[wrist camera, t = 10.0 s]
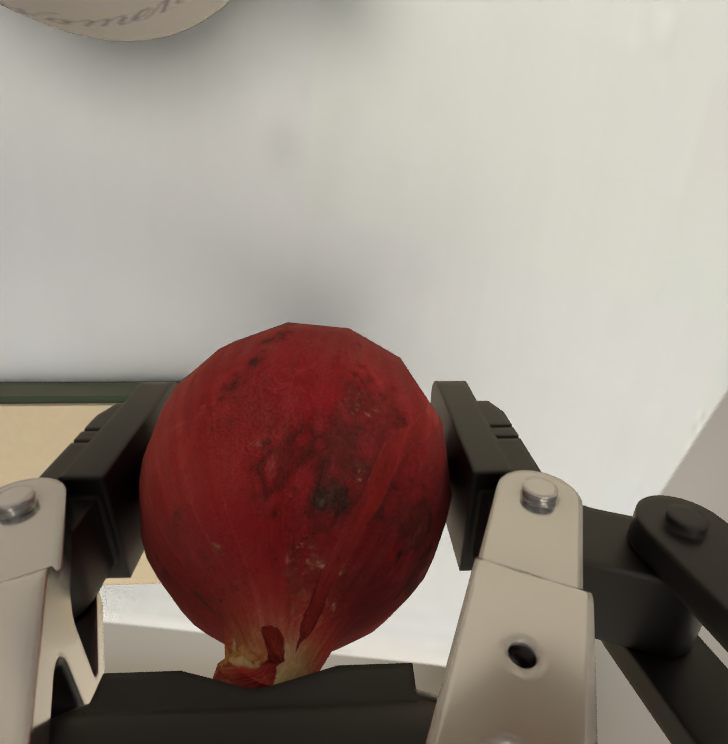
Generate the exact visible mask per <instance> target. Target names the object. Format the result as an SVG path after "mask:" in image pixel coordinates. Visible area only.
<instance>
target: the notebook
mask: <svg viewBox="0 0 728 744" xmlns="http://www.w3.org/2000/svg"><path fill="white" fill-rule="evenodd" d="M140 383H144V382H33V383H0V487H2V486H5V485H7V484H10V483H13V482H17V481H20V480H25V479H30V478H39V477H40V476H41V475H42V473H43V472H44V471H45V470H46V469H47V468H48V467H49V466H50V465H51V464H52V463H53V462H54V461H55V460H56V458H57V457H58V456H59V455H60V454H61V453H62V452H63V451H64V450H65V449H66V448H67V447H68V446H69V445H70V443H74V439H75V438H76V437H77V436H78V435H79V434H80V433H81V432H82V431H84V428H85V427H86V426H87V425H88V424H89V423H90V422H91V421H92V420H93V419H94V418H95V417H96V416H97V415H98V414H100V413H101V412H103V411H105V410H107V409H108V408H110V407H112V406H113V405H115V404H117V403H123V402H124V401H125V400H126V399H127V398H128V397H129V395H130V394H131V393H132V392H133V391H134V390H135V389H136V387H137V386H138V385H139V384H140ZM175 383H177V384H179V383H180V382H175ZM160 583H161V582H160V581H159V579H158V578H157V576H156V574H155V572H154V571H153V569H152V567H151V565H150V564H149V562H148V560H147V558H146V554H145V550H144V552H143V554H142V556H141V558H140V560H139V562H138V564H137V566H136V568H135V570H134V572H133V574H132V576H131V578H106V579H105V581H104V583H103V585H122V584H160Z"/></svg>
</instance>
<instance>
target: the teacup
mask: <svg viewBox="0 0 728 744" xmlns="http://www.w3.org/2000/svg"><path fill="white" fill-rule="evenodd" d="M229 1H230V0H0V4H1V5H3V6H5V7H7V8H9V9H11V10H14V11H16V12H18V13H20V14H23V15H25V16H27V17H30V18H32V19H35V20H37V21H39V22H42V23H44V24H46V25H49V26H52V27H55V28H58V29H61V30H64V31H67V32H70V33H73V34H77V35H82V36H86V37H91V38H97V39H103V40H110V41H142V40H151V39H156V38H162V37H167V36H170V35H172V34H175V33H178V32H181V31H184V30H187V29H189V28H191V27H193V26H195V25H197V24H199V23H201V22H203V21H204V20H205V19H207V18H208V17H210V16H211V15H213V14H214V13H215V12H217V11H218V10H220V9H221V8H222V7H223V6H224V5H225V4H227V3H228V2H229Z"/></svg>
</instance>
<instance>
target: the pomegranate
mask: <svg viewBox="0 0 728 744" xmlns="http://www.w3.org/2000/svg"><path fill="white" fill-rule="evenodd" d="M451 498H452V490H451V482H450V475H449V467H448V460H447V452H446V445H445V438H444V431H443V424H442V420H441V419H440V417H439V416H438V414H437V413H436V411H435V410H434V408H433V407H432V405H431V404H430V402H429V401H428V399H427V398H426V396H425V395H424V393H423V392H422V390H421V389H420V387H419V386H418V384H417V383H416V381H415V380H414V378H413V377H412V375H411V374H410V372H409V370H408V369H407V367H406V366H405V364H404V363H403V361H402V360H401V358H400V357H398V356H396V355H394V354H393V353H391V352H389V351H388V350H386V349H384V348H382V347H381V346H379V345H377V344H375V343H374V342H372V341H370V340H368V339H367V338H365V337H363V336H362V335H360V334H358V333H356V332H355V331H353V330H351V329H349V328H340V327H330V326H320V325H310V324H299V323H289V322H288V323H285V324H282V325H279V326H277V327H274V328H271V329H268V330H265V331H262V332H260V333H257V334H254V335H251V336H248V337H245V338H243V339H240V340H237V341H234V342H232V343H230V344H228V345H226V346H224V347H222V348H220V349H219V350H217V351H216V352H215V353H214V354H213V355H212V356H210V357H209V358H208V359H207V360H206V361H205V362H203V363H202V364H201V365H200V366H199V367H198V368H196V369H195V370H194V371H193V372H192V373H191V374H189V375H188V376H187V377H186V378H185V379H184V380H183V381H181V382H180V383H179V384H178V385H177V386H176V387H175V388H174V390H173V392H172V393H171V395H170V397H169V398H168V400H167V402H166V403H165V405H164V407H163V409H162V411H161V413H160V416H159V418H158V421H157V423H156V426H155V428H154V431H153V433H152V436H151V438H150V441H149V443H148V446H147V448H146V451H145V453H144V456H143V458H142V465H141V472H140V479H139V501H140V525H141V538H142V542H143V546H144V550H145V554H146V558H147V560H148V562H149V564H150V565H151V567H152V569H153V571H154V572H155V574H156V576H157V578H158V579H159V581H160V582H161V583H162V585H163V586H164V587H165V589H166V590H167V592H168V593H169V594H170V596H171V597H172V599H173V600H174V601H175V603H176V604H177V605H178V607H179V608H180V610H181V611H182V612H183V613H184V614H185V615H186V617H187V618H188V619H189V620H190V621H191V622H192V623H193V624H194V625H195V626H196V627H198V628H199V629H201V630H202V631H203V632H205V633H206V634H208V635H209V636H211V637H213V638H215V639H216V640H218V641H220V642H222V643H224V644H225V659H223V660H222V661H221V662H219V663H218V665H217V668H216V671H215V673H214V676H213V679H215V680H219V681H223V682H227V683H231V684H235V685H239V686H243V687H247V688H253V689H259V688H264V687H268V686H271V685H275V684H278V683H281V682H285V681H288V680H291V679H295V678H298V677H301V676H305V675H308V674H311V673H315V672H318V671H320V669H321V668H322V666H323V665H324V663H325V661H326V660H327V658H328V657H329V655H330V653H331V652H332V651H334V650H337V649H339V648H341V647H343V646H345V645H348V644H350V643H352V642H354V641H356V640H358V639H360V638H362V637H364V636H366V635H368V634H370V633H372V632H373V631H374V630H375V629H377V628H378V627H379V626H380V625H381V624H382V623H384V622H385V621H386V620H387V619H388V618H389V617H390V616H391V615H392V614H393V613H394V612H395V611H396V610H397V609H398V608H399V607H400V606H401V605H402V604H403V603H404V602H405V601H406V600H407V599H408V598H409V597H410V596H411V594H412V593H413V592H414V590H415V589H416V588H417V587H418V585H419V584H420V583H421V582H422V580H423V579H424V577H425V575H426V573H427V571H428V569H429V567H430V565H431V563H432V560H433V558H434V555H435V552H436V550H437V547H438V544H439V541H440V538H441V535H442V532H443V529H444V526H445V523H446V520H447V516H448V512H449V507H450V503H451Z"/></svg>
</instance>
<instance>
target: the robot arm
mask: <svg viewBox="0 0 728 744" xmlns="http://www.w3.org/2000/svg"><path fill="white" fill-rule="evenodd" d="M177 385H178V384H177V383H175V382H144V383H140V384H139V385H138V386H137V387H136V389H135V390H134V391H133V392H132V393H131V394H130V395H129V397H128V398H127V399H126V400H125V401H124V402H123V403H117V404H115V405H113V406H112V407H110V408H108V409H107V410H105V411H103V412H101V413H100V414H98V415H97V416H96V417H95V418H94V419H93V420H92V421H91V422H90V423H89V424H88V425H87V426H86V427H85V428H84V431H82V432H81V433H80V434H79V435H78V436H77V437H76V438H75V439H74V443H70V445H69V446H68V447H67V448H66V449H65V450H64V451H63V452H62V453H61V454H60V455H59V456H58V457H57V458H56V460H55V461H54V462H53V463H52V464H51V465H50V466H49V467H48V468H47V469H46V470H45V471H44V472H43V473H42V475H41V476H40V477H39V478H30V479H25V480H20V481H17V482H13V483H10V484H7V485H5V486H2V487H0V744H598V742H597V708H596V707H597V706H596V705H597V704H596V667H595V638H596V639H599V640H601V641H602V643H603V644H604V646H605V648H606V649H607V650H608V652H609V653H610V655H611V656H612V658H613V659H614V661H615V662H616V664H617V665H618V667H619V668H620V670H621V671H622V672H623V674H624V675H625V677H626V678H627V680H628V681H629V683H630V684H631V685H632V687H633V688H634V690H635V691H636V693H637V694H638V696H639V697H640V699H641V700H642V702H643V703H644V705H645V706H646V707H647V709H648V710H649V712H650V713H651V715H652V716H653V718H654V719H655V721H656V722H657V724H658V725H659V727H660V728H661V729H662V731H663V732H664V733H665V735H666V737H667V738H668V740H669V741H670V743H671V744H728V668H727V667H726V666H725V665H724V664H723V663H722V662H721V661H720V660H719V658H718V657H717V656H716V655H715V654H714V653H713V652H712V651H711V649H710V648H709V647H708V646H707V645H706V644H705V643H704V642H703V640H702V639H701V638H700V637H699V636H698V632H699V631H700V629H701V627H702V625H703V626H704V627H705V628H706V629H707V630H708V631H709V632H710V633H711V635H712V636H713V637H714V638H715V639H716V640H717V641H718V642H719V643H720V644H721V645H722V646H723V648H724V649H725V650H726V651H727V652H728V523H726V522H725V521H724V520H722V519H721V518H720V517H719V516H717V515H716V514H714V513H713V512H711V511H709V510H708V509H706V508H704V507H702V506H700V505H698V504H695V503H693V502H690V501H687V500H684V499H681V498H676V497H671V496H662V495H657V496H649V497H646V498H643V499H642V500H640V501H639V502H638V504H637V505H636V508H635V511H634V514H633V517H632V516H628V515H623V514H618V513H613V512H608V511H603V510H598V509H594V508H590V507H587V506H584V505H582V501H581V498H580V496H579V495H578V493H577V492H576V491H575V490H574V489H573V488H572V487H571V486H570V485H568V484H567V483H565V482H564V481H562V480H561V479H559V478H557V477H554V476H552V475H549V474H546V473H543V472H541V471H540V469H539V468H538V466H537V464H536V463H535V461H534V460H533V458H532V456H531V455H530V453H529V452H528V450H527V448H526V447H525V445H524V444H523V442H522V440H521V439H520V438H518V434H517V432H516V431H515V429H514V428H513V427H512V424H511V423H510V421H509V420H508V418H507V416H506V415H505V413H504V412H503V411H502V410H500V409H499V408H497V407H496V406H495V405H493V404H492V403H490V402H489V401H476V399H475V397H474V395H473V393H472V391H471V390H470V388H469V386H468V384H467V382H466V381H434V383H433V386H432V392H431V403H430V404H431V405H432V407H433V408H434V410H435V411H436V413H437V414H438V416H439V417H440V419H441V420H442V424H443V431H444V438H445V445H446V452H447V460H448V467H449V475H450V482H451V490H452V498H451V503H450V507H449V512H448V516H447V520H446V524H447V527H448V531H449V535H450V538H451V542H452V545H453V549H454V552H455V556H456V559H457V563H458V566H459V570H460V571H468V570H472V572H471V575H470V579H469V583H468V587H467V590H466V594H465V598H464V602H463V605H462V609H461V613H460V617H459V620H458V624H457V628H456V632H455V635H454V639H453V643H452V647H451V650H450V654H449V658H448V662H447V665H446V669H445V673H444V677H443V680H442V684H441V688H440V692H439V695H438V696H436V695H434V694H431V693H429V692H425V691H421V690H417V689H416V686H415V679H414V672H413V664H412V663H396V664H368V665H341V666H335V667H331V668H328V669H325V670H322V671H318V672H315V673H311V674H308V675H305V676H301V677H298V678H295V679H291V680H288V681H285V682H281V683H278V684H275V685H271V686H268V687H264V688H259V689H253V688H247V687H243V686H239V685H235V684H231V683H227V682H223V681H219V680H215V679H211V678H207V677H203V676H199V675H195V674H191V673H187V672H183V671H162V672H134V673H106V674H105V670H104V638H103V637H104V636H103V605H102V600H101V597H100V594H99V590H100V588H101V587H102V585H103V583H104V581H105V579H106V578H131V576H132V574H133V572H134V570H135V568H136V566H137V564H138V562H139V560H140V558H141V556H142V554H143V552H144V546H143V542H142V538H141V525H140V501H139V479H140V472H141V465H142V458H143V456H144V453H145V451H146V448H147V446H148V443H149V441H150V438H151V436H152V433H153V431H154V428H155V426H156V423H157V421H158V418H159V416H160V413H161V411H162V409H163V407H164V405H165V403H166V402H167V400H168V398H169V397H170V395H171V393H172V392H173V390H174V388H175V387H176V386H177Z"/></svg>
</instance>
